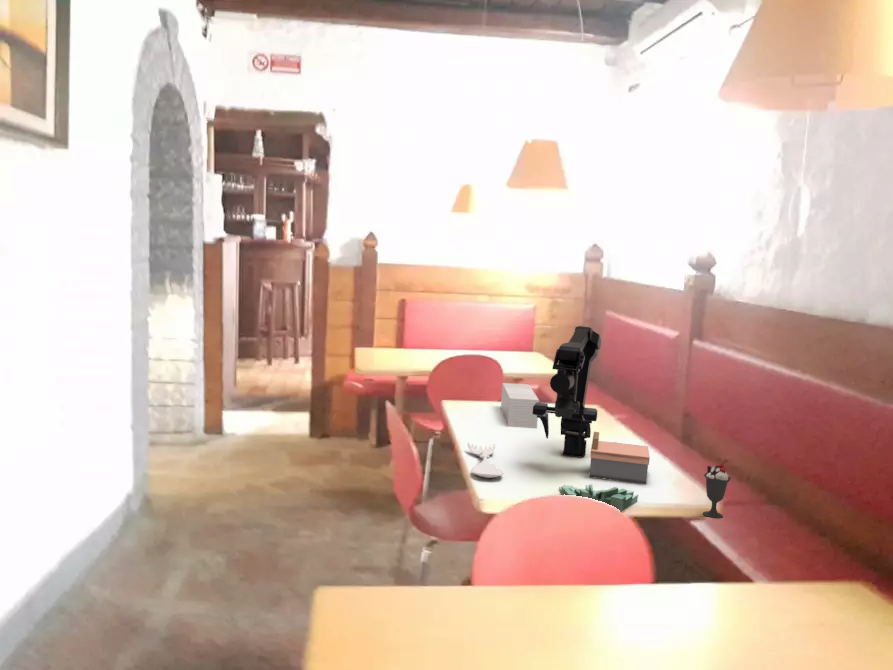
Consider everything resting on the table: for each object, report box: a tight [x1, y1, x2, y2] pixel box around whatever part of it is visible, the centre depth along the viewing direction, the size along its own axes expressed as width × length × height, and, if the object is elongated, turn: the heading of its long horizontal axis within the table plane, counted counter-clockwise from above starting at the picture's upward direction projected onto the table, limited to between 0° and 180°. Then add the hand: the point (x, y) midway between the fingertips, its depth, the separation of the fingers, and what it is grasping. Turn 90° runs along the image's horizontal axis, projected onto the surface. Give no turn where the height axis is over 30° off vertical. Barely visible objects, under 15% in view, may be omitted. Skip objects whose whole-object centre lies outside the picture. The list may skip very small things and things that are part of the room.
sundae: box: [702, 459, 732, 520], centre depth 198 cm, size 7×7×15 cm
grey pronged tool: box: [467, 441, 504, 479], centre depth 230 cm, size 9×32×4 cm, turn 1°
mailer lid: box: [589, 431, 651, 466], centre depth 229 cm, size 16×14×5 cm
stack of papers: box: [500, 382, 540, 429], centre depth 299 cm, size 32×11×11 cm, turn 1°
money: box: [558, 483, 639, 513], centre depth 204 cm, size 20×16×5 cm
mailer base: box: [589, 458, 649, 485], centre depth 229 cm, size 16×12×7 cm
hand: (562, 440), depth 232 cm, fingers open, 9 cm apart
